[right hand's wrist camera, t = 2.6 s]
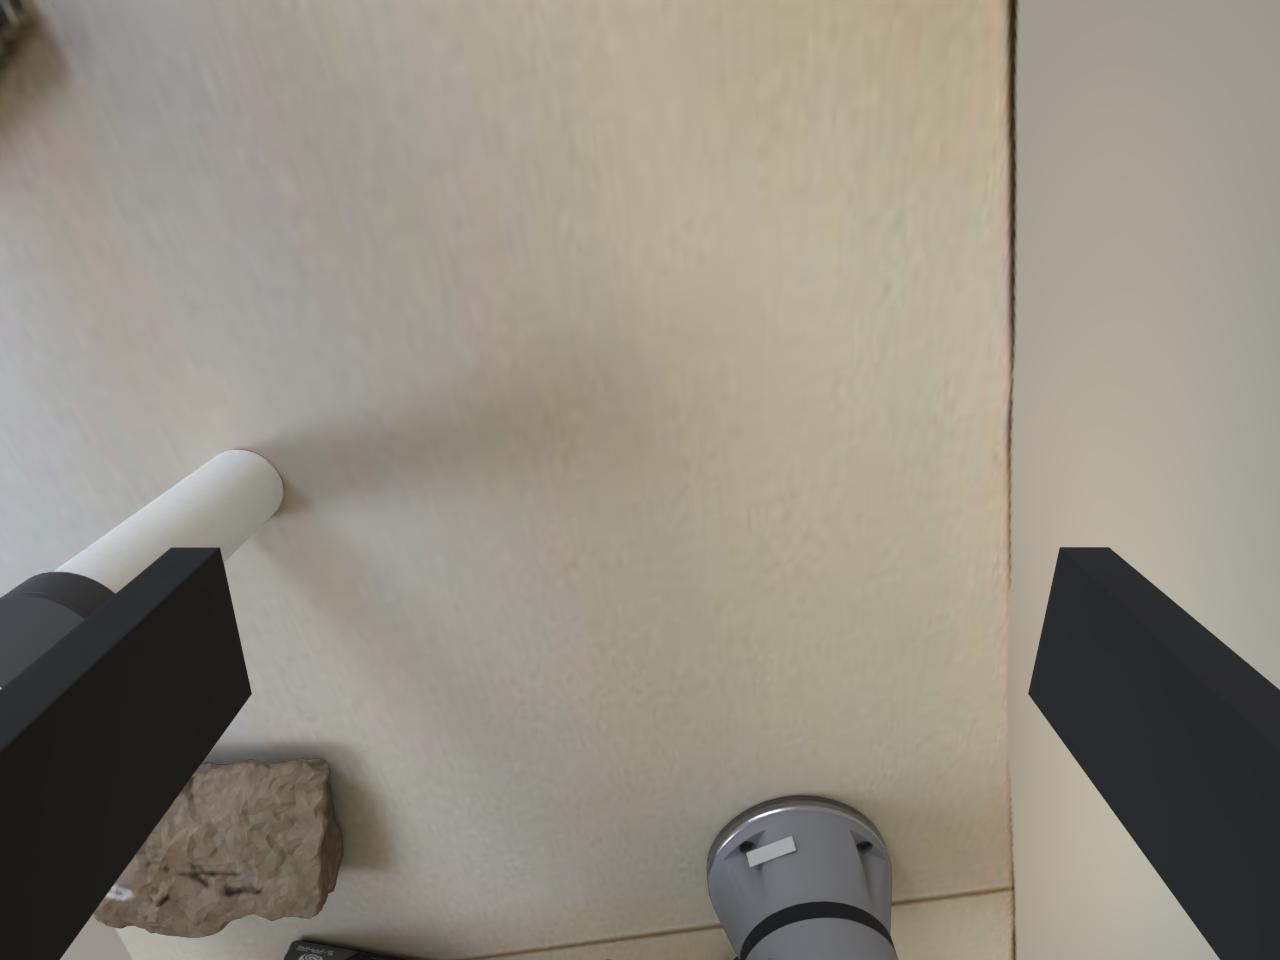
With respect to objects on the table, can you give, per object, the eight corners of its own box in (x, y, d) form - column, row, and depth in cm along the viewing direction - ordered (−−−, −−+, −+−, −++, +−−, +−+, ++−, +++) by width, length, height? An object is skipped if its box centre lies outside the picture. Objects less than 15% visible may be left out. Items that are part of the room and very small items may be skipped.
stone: (80, 914, 66) (40, 968, 61) (64, 745, 64) (20, 784, 58) (349, 889, 70) (335, 938, 64) (342, 728, 68) (327, 764, 62)
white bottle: (298, 480, 56) (128, 641, 37) (260, 535, 57) (79, 715, 39) (228, 433, 55) (16, 577, 36) (191, 491, 56) (-30, 656, 38)
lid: (162, 618, 39) (133, 645, 37) (107, 700, 41) (77, 730, 39) (40, 547, 38) (4, 571, 35) (-11, 635, 39) (-49, 663, 37)
